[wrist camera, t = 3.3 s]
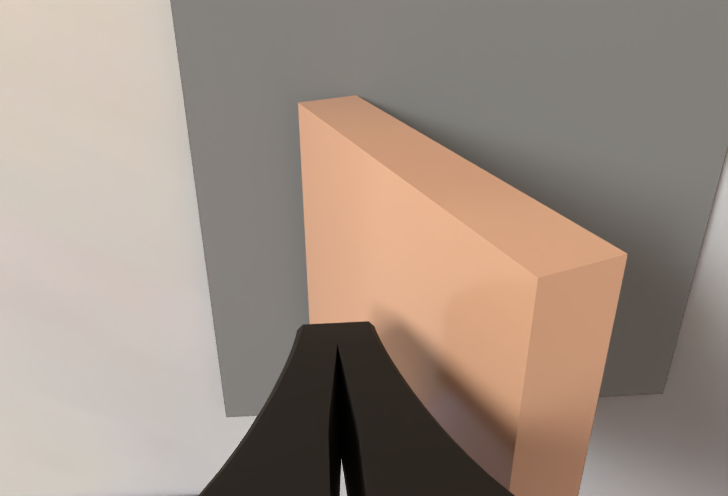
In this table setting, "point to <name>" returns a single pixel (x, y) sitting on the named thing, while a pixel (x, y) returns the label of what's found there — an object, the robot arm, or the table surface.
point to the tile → (461, 290)
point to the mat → (459, 142)
